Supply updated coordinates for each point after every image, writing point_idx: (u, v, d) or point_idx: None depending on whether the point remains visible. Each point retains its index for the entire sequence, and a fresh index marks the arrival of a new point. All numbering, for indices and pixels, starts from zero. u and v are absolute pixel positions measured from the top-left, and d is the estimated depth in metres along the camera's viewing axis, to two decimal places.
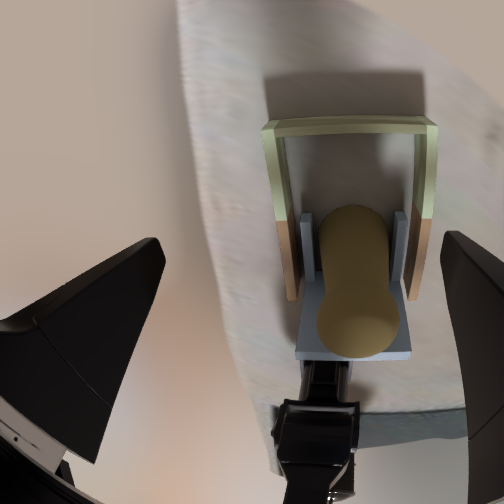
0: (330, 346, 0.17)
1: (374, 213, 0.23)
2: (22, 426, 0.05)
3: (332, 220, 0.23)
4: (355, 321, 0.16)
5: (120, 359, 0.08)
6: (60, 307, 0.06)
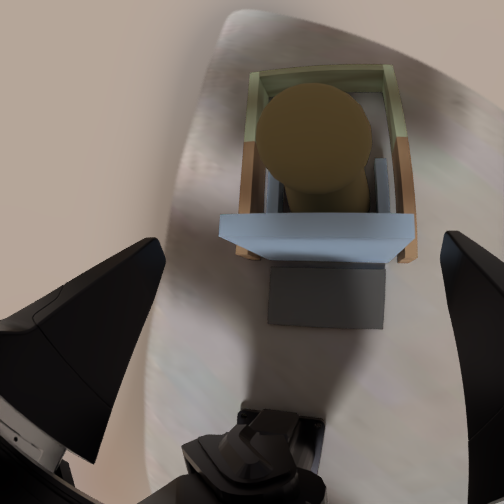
0: (269, 134, 0.12)
1: None
2: (22, 426, 0.05)
3: None
4: (301, 87, 0.12)
5: (120, 359, 0.08)
6: (60, 307, 0.06)
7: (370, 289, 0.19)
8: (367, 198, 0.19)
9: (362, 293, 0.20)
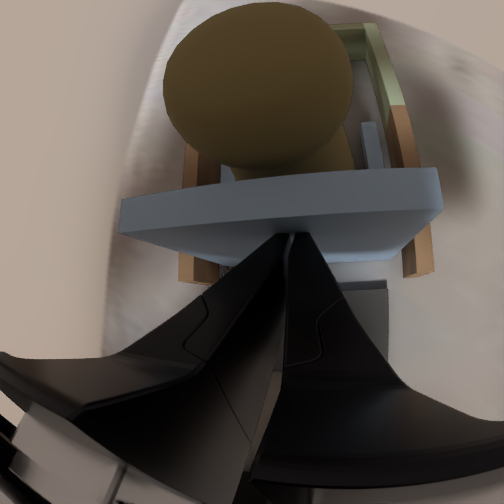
0: (175, 78, 0.06)
1: None
2: (166, 502, 0.04)
3: None
4: (230, 9, 0.06)
5: (264, 382, 0.07)
6: (228, 328, 0.05)
7: (368, 317, 0.14)
8: None
9: None
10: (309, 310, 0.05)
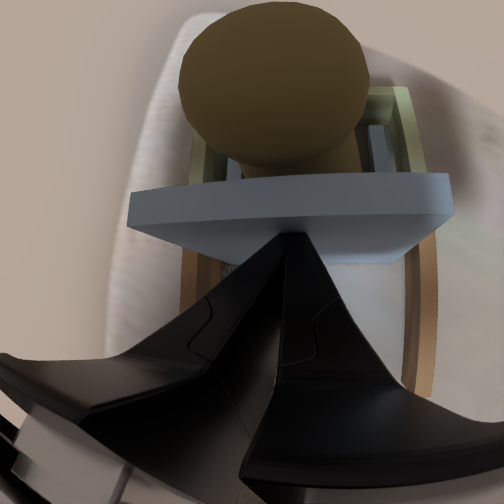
0: (193, 72, 0.06)
1: None
2: (170, 503, 0.04)
3: None
4: (249, 6, 0.06)
5: (268, 383, 0.07)
6: (233, 329, 0.05)
7: None
8: None
9: None
10: (305, 310, 0.05)
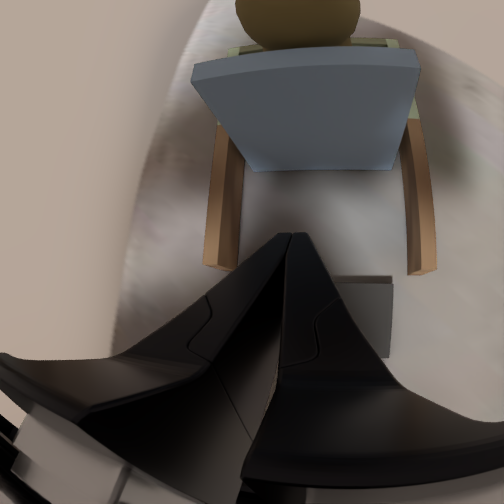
0: None
1: None
2: (170, 503, 0.04)
3: None
4: None
5: (267, 383, 0.07)
6: (233, 329, 0.05)
7: (374, 308, 0.15)
8: None
9: (363, 313, 0.15)
10: (305, 310, 0.05)
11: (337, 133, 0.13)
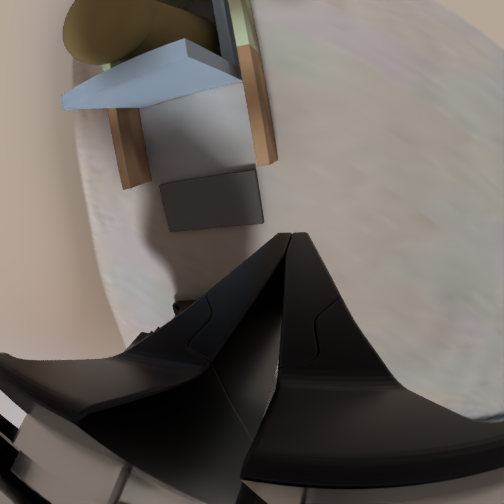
0: (66, 39, 0.10)
1: None
2: (169, 503, 0.04)
3: None
4: None
5: (267, 383, 0.07)
6: (233, 329, 0.05)
7: (243, 190, 0.22)
8: (205, 38, 0.17)
9: (237, 194, 0.23)
10: (305, 310, 0.05)
11: (175, 85, 0.17)
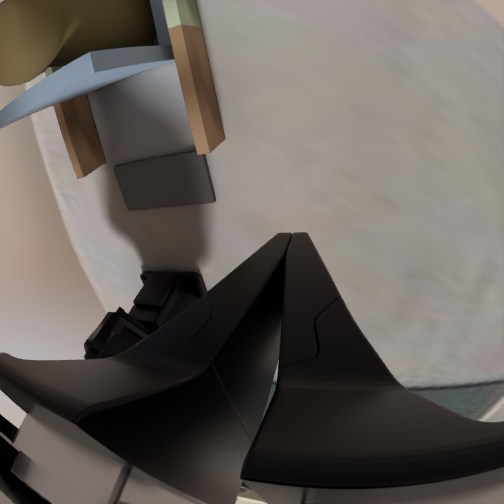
0: None
1: None
2: (169, 503, 0.04)
3: None
4: None
5: (267, 383, 0.07)
6: (232, 329, 0.05)
7: (192, 170, 0.21)
8: (138, 19, 0.14)
9: (186, 175, 0.21)
10: (305, 310, 0.05)
11: (107, 79, 0.14)
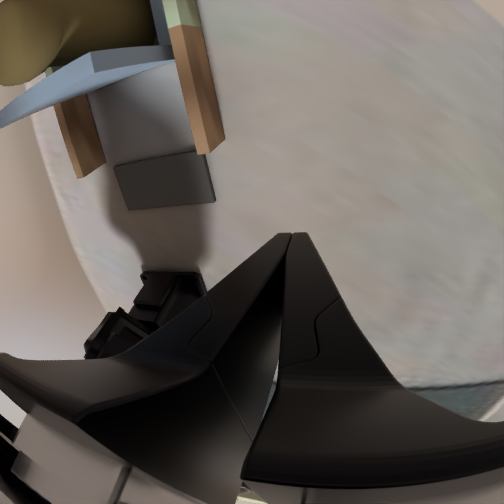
0: None
1: None
2: (169, 503, 0.04)
3: None
4: None
5: (267, 383, 0.07)
6: (232, 329, 0.05)
7: (192, 170, 0.21)
8: (138, 19, 0.14)
9: (186, 175, 0.21)
10: (305, 310, 0.05)
11: (107, 79, 0.14)
